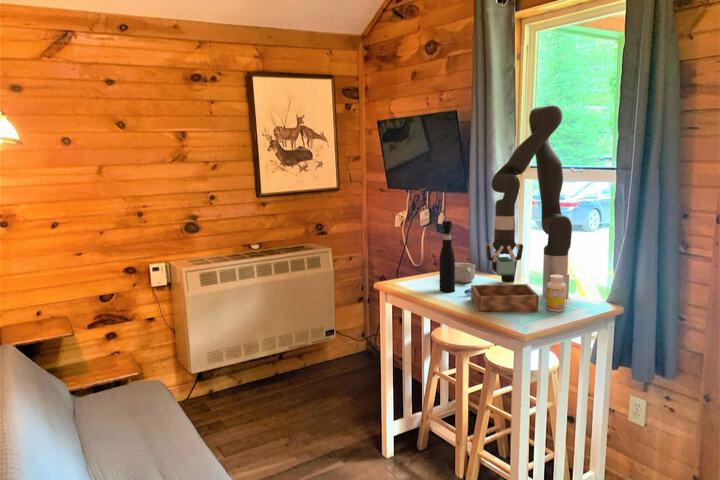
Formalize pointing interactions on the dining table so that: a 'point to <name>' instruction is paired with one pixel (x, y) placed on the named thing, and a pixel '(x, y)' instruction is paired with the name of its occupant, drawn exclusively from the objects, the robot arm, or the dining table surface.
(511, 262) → the teal tote
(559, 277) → the supplement bottle
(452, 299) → the dining table surface
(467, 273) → the teacup
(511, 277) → the dixie cup
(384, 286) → the dining table surface
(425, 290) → the dining table surface
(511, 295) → the walnut crate
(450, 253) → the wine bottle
